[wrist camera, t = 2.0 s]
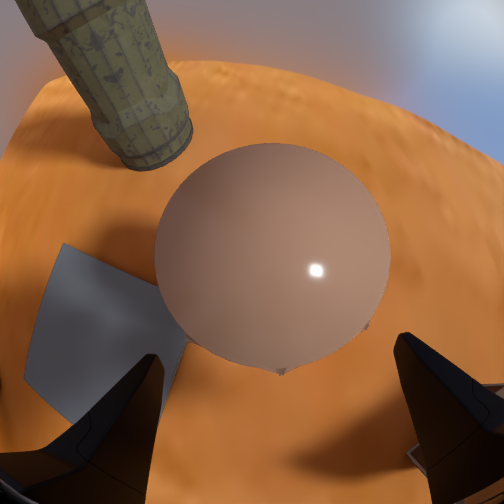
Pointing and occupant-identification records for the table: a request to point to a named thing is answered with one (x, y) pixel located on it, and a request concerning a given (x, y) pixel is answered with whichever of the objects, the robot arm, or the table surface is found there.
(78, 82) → the thermos
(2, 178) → the table surface
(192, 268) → the brown piece
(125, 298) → the slate mat
